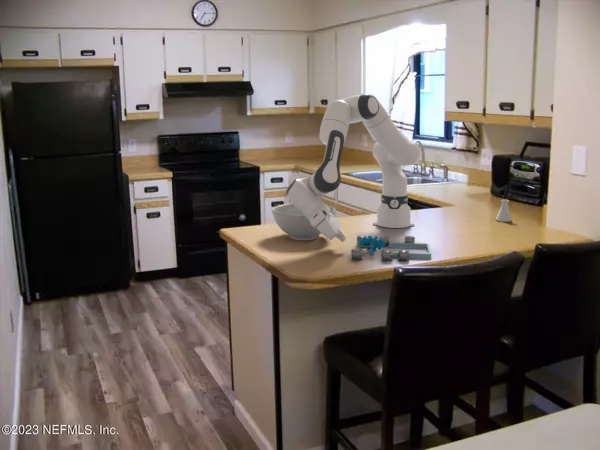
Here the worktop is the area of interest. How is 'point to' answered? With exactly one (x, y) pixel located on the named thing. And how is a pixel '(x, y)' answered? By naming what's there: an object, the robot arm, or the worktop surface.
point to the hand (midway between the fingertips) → (344, 240)
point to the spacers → (385, 254)
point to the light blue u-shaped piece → (412, 245)
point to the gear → (371, 243)
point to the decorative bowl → (296, 222)
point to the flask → (504, 212)
